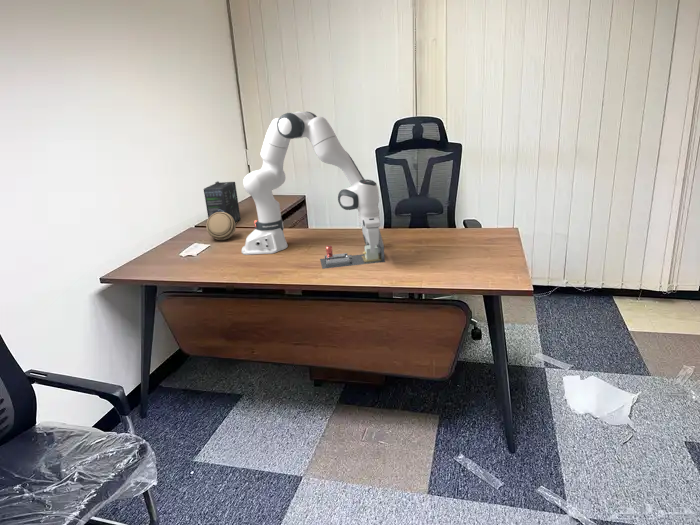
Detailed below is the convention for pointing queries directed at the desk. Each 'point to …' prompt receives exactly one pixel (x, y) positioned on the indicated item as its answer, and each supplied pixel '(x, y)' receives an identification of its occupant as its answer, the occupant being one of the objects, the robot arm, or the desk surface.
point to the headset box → (222, 199)
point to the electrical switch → (379, 238)
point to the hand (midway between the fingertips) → (370, 249)
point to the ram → (331, 256)
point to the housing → (370, 255)
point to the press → (353, 259)
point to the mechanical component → (220, 225)
